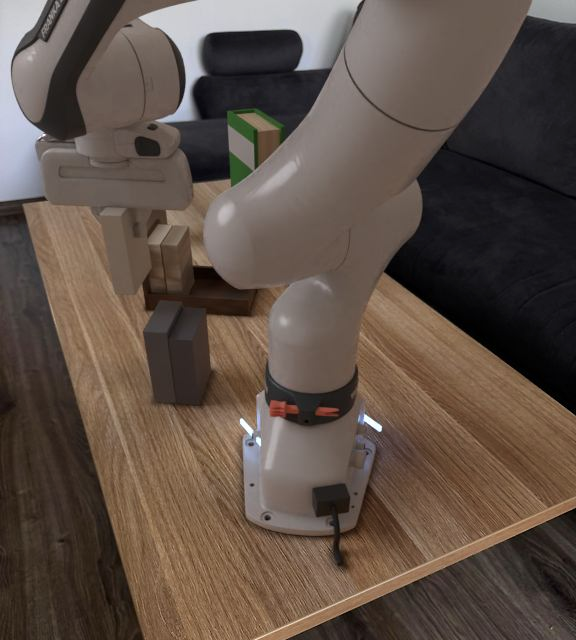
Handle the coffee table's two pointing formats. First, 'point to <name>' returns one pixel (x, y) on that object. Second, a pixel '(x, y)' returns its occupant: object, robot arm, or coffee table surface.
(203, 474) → the coffee table surface
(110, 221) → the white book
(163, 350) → the grey books
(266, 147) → the hardback book
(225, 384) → the coffee table surface
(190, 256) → the dark wooden book rack
